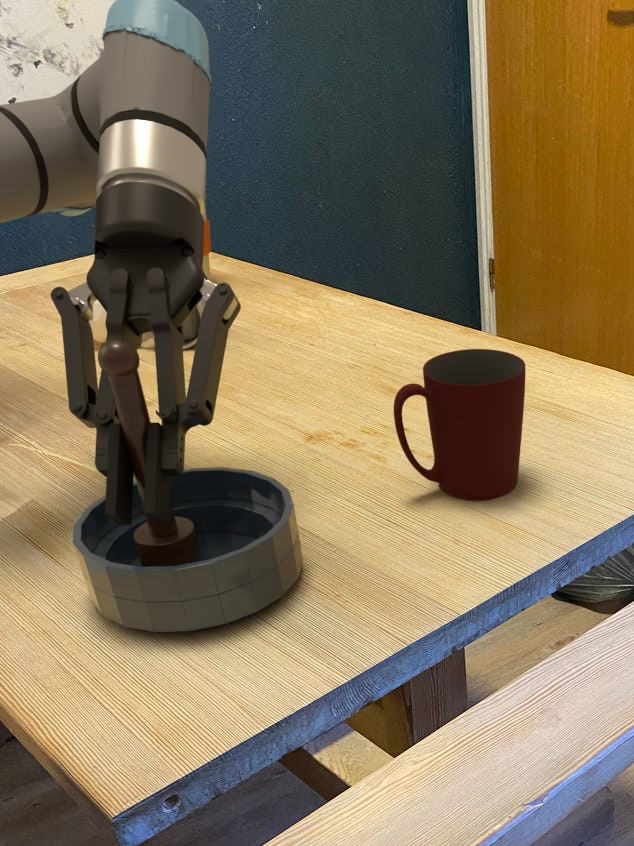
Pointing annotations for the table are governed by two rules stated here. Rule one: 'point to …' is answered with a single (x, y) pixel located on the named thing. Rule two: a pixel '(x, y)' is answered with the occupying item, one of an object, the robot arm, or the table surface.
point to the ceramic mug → (186, 328)
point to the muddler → (144, 459)
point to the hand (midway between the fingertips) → (137, 518)
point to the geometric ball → (99, 323)
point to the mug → (470, 421)
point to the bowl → (219, 545)
